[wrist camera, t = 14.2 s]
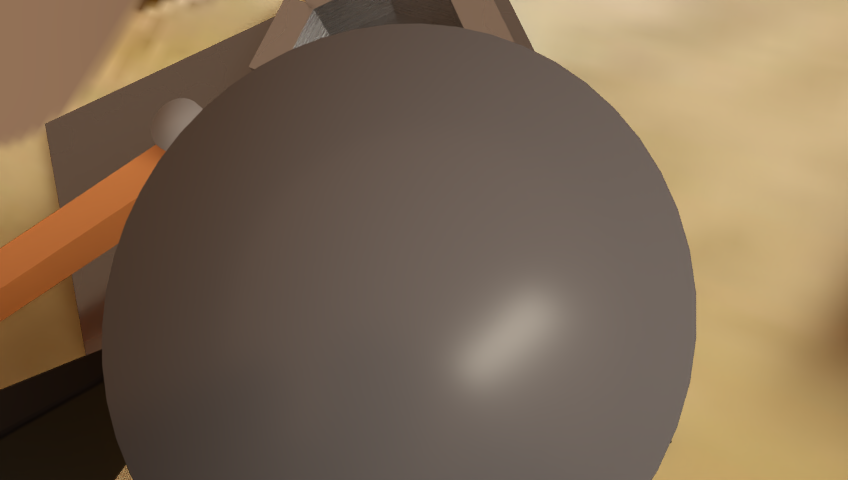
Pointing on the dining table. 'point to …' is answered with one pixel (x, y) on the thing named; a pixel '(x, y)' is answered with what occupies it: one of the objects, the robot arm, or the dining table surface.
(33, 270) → the clip
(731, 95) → the dining table surface
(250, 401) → the plug
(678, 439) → the dining table surface
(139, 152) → the socket plate
